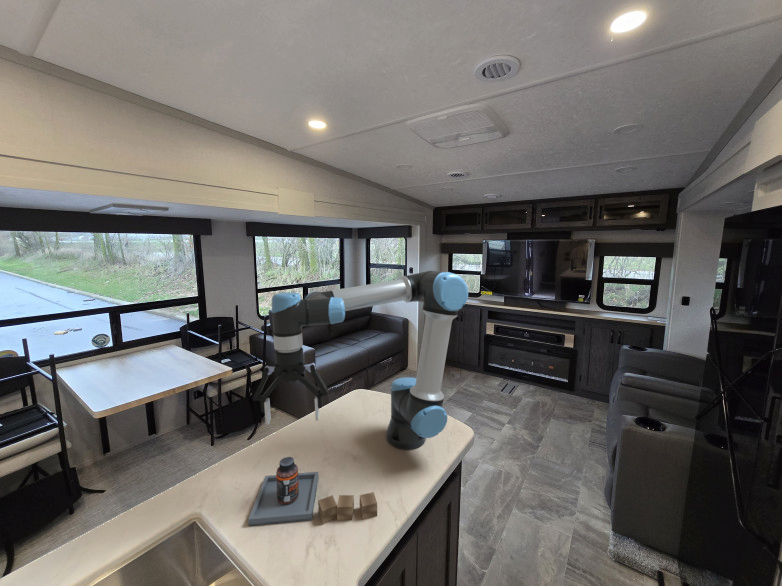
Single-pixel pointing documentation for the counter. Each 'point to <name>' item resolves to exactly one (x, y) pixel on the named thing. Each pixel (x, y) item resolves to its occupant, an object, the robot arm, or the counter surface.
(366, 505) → the block
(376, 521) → the counter surface
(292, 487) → the supplement bottle
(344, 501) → the block
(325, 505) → the block
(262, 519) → the tray
